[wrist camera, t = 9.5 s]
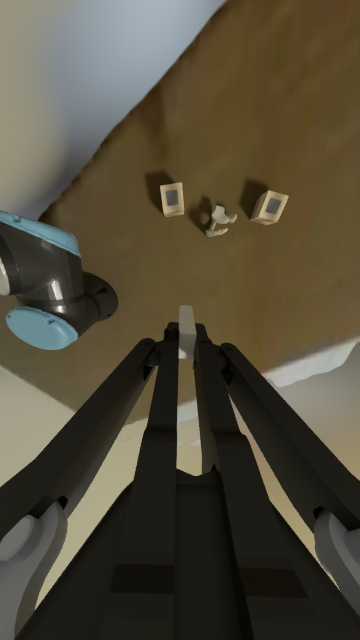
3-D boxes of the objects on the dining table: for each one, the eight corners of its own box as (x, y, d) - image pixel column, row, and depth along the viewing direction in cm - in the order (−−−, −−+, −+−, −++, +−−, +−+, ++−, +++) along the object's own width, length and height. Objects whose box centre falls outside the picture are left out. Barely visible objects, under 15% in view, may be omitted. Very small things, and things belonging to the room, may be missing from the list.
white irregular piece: (229, 190, 34) (245, 206, 29) (231, 217, 39) (246, 235, 34) (196, 210, 36) (206, 228, 31) (203, 233, 42) (212, 251, 36)
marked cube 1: (249, 220, 38) (258, 216, 33) (258, 197, 36) (269, 189, 31) (266, 225, 39) (277, 221, 34) (275, 202, 36) (289, 195, 32)
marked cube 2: (165, 217, 38) (163, 212, 33) (162, 193, 36) (159, 185, 31) (183, 214, 38) (184, 209, 33) (181, 190, 35) (181, 182, 31)
